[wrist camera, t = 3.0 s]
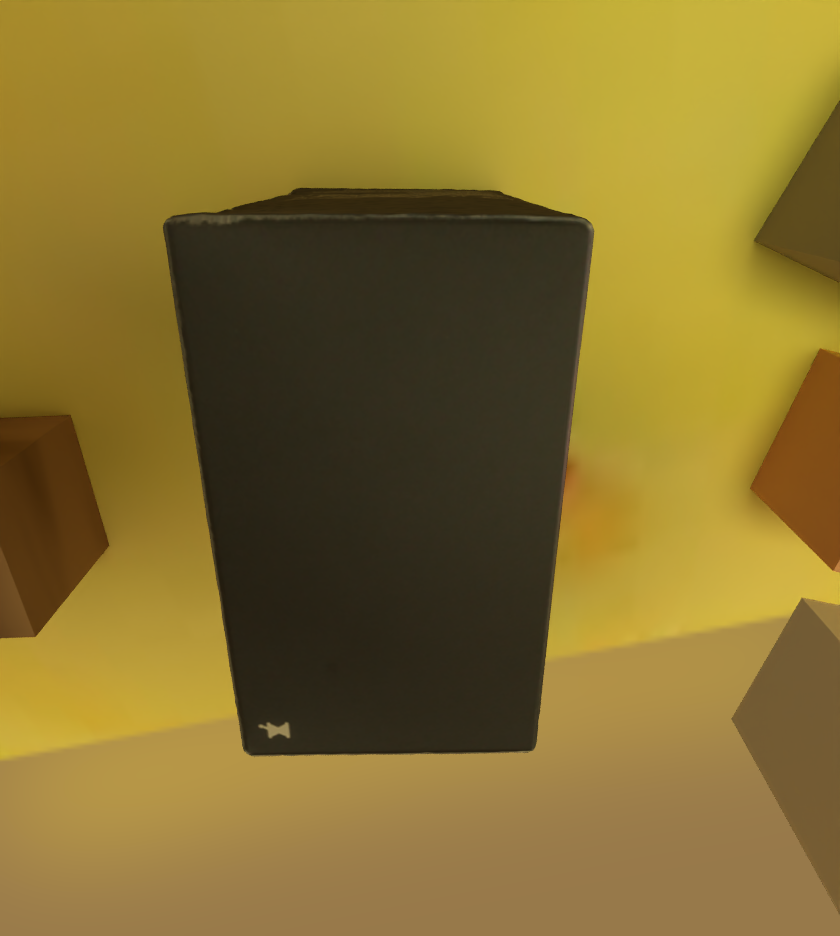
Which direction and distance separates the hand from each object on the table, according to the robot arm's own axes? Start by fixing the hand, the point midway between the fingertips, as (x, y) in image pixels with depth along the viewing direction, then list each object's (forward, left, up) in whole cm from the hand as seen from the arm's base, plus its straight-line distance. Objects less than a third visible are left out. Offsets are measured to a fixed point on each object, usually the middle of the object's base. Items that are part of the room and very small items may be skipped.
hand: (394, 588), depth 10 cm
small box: (0, 0, -11) cm, 11 cm away
